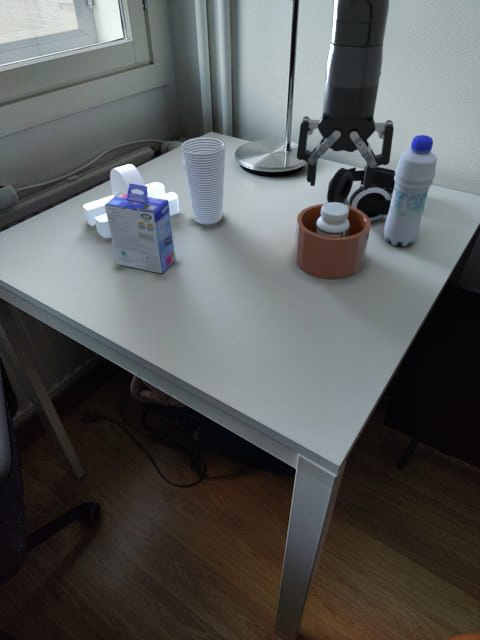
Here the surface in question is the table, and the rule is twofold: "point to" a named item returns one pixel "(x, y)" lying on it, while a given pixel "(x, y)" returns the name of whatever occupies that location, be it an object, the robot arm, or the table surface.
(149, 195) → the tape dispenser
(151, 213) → the ink cartridge box
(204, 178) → the cup
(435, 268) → the table surface
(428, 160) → the bottle
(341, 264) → the crock
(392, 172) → the headphones
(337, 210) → the pill bottle
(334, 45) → the robot arm
